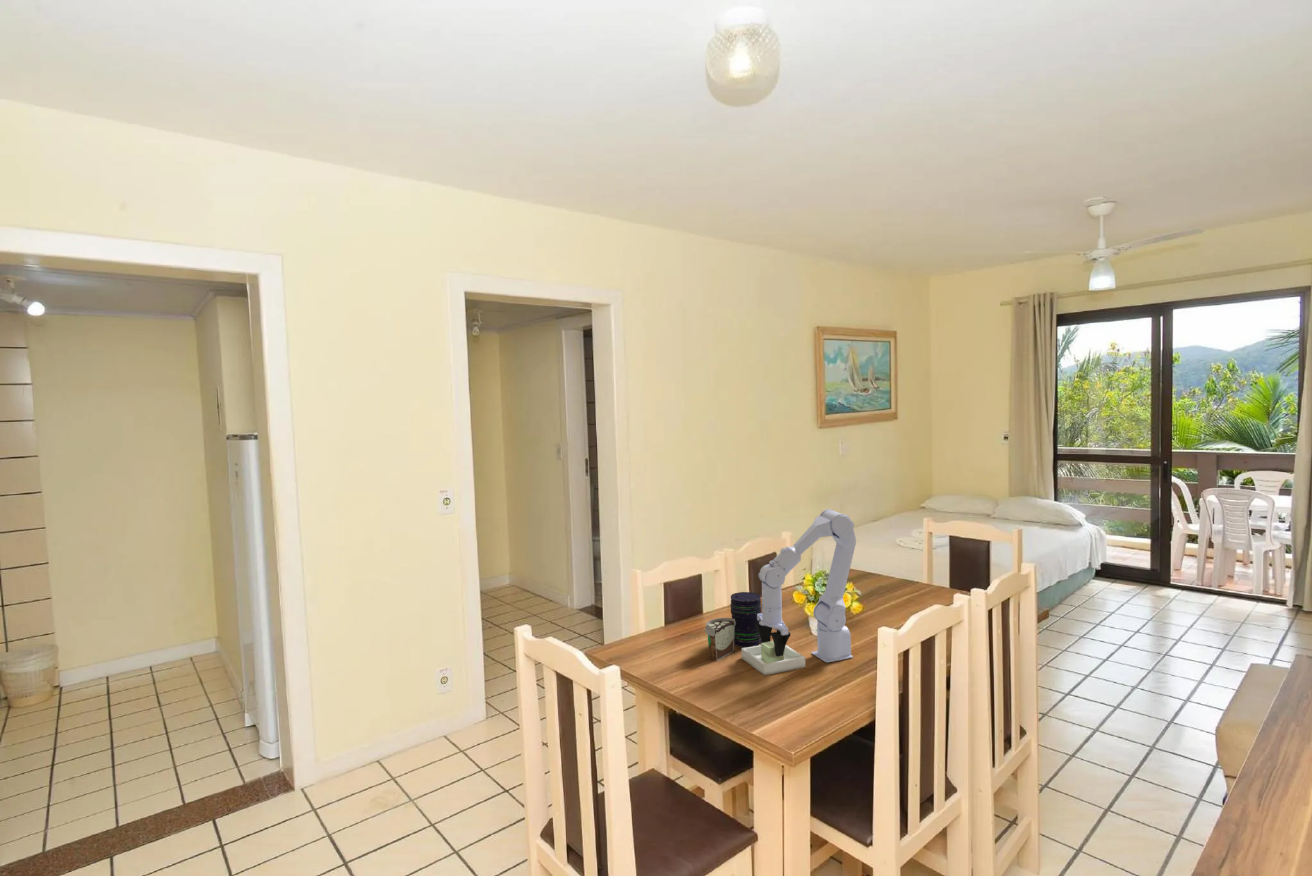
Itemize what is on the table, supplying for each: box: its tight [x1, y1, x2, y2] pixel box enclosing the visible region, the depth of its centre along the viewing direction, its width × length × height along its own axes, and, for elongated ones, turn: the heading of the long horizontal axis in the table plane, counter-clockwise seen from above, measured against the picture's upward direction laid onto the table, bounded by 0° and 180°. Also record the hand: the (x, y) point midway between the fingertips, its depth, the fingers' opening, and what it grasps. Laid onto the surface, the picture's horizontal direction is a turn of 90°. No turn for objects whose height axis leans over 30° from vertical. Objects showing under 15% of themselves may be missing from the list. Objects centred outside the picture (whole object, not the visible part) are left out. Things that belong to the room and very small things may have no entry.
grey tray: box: [741, 644, 806, 676], centre depth 193 cm, size 14×14×3 cm
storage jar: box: [730, 591, 762, 648], centre depth 209 cm, size 10×10×15 cm
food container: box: [704, 617, 736, 662], centre depth 200 cm, size 12×6×10 cm, turn 141°
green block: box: [760, 640, 784, 663], centre depth 192 cm, size 5×4×5 cm
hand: (772, 651), depth 192 cm, fingers open, 7 cm apart
